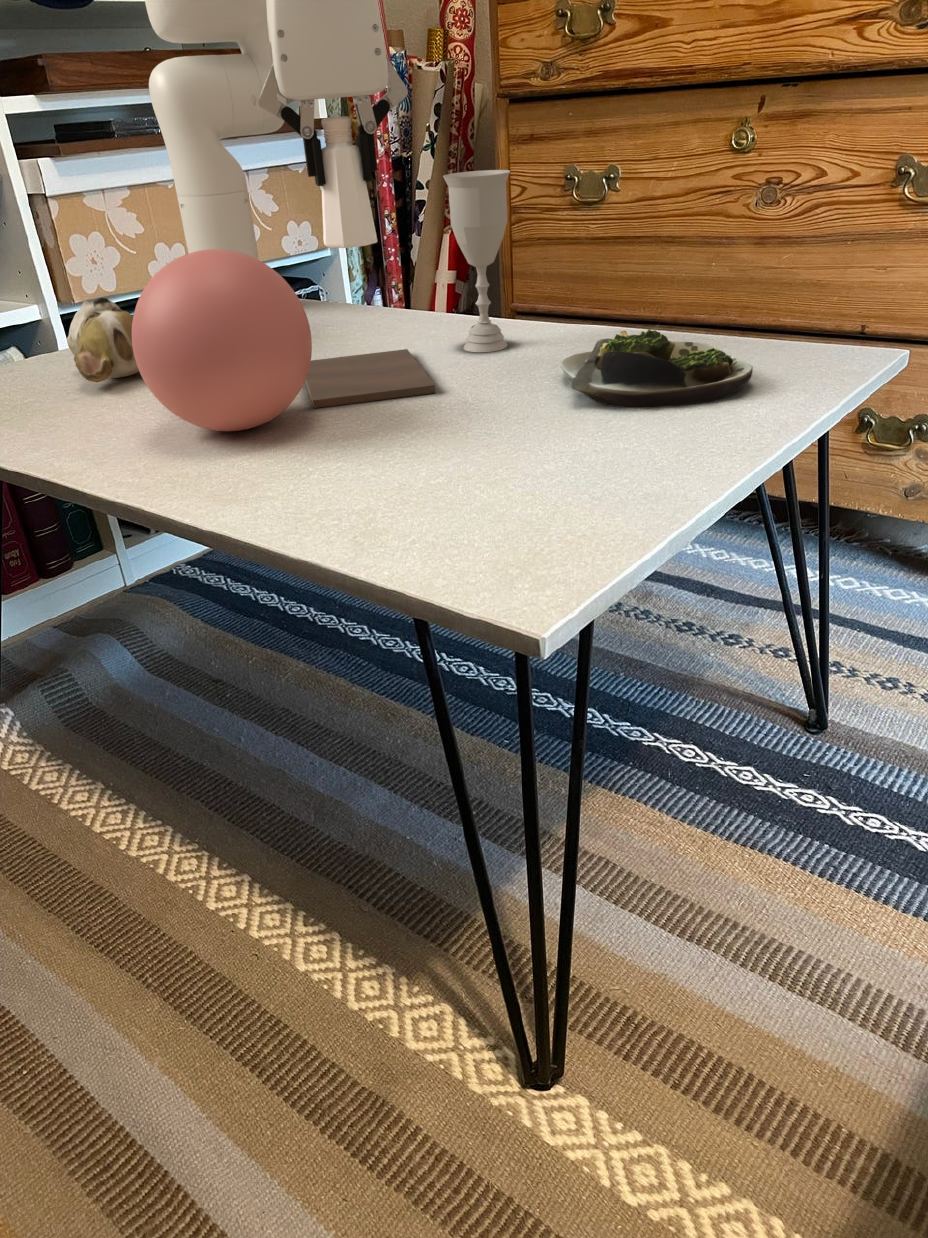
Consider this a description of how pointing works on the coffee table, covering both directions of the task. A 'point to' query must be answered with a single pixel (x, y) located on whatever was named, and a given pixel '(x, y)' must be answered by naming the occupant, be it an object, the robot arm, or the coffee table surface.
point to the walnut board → (366, 378)
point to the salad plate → (654, 371)
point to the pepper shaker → (344, 189)
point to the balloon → (221, 340)
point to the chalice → (480, 239)
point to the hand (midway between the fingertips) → (343, 180)
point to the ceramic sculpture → (102, 341)
